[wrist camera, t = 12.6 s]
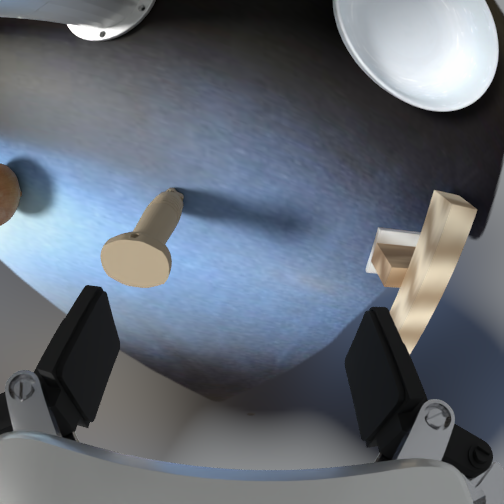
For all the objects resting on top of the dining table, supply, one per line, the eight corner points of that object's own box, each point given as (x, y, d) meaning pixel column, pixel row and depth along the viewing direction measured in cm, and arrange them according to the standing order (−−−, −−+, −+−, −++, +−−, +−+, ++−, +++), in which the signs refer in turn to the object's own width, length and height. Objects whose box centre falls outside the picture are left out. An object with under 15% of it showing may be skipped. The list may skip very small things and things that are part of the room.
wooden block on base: (378, 227, 40) (396, 253, 34) (429, 233, 40) (451, 258, 34) (365, 269, 44) (379, 299, 38) (415, 272, 44) (432, 299, 38)
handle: (148, 179, 37) (97, 236, 24) (198, 182, 37) (168, 244, 24) (149, 213, 39) (104, 282, 26) (196, 218, 40) (170, 291, 27)
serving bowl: (480, 96, 29) (512, 105, 23) (348, 117, 33) (368, 126, 27) (441, -40, 19) (469, -51, 13) (295, -39, 22) (304, -61, 16)
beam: (434, 189, 30) (452, 204, 26) (458, 195, 30) (477, 209, 27) (375, 342, 42) (382, 362, 39) (397, 341, 42) (405, 361, 39)
